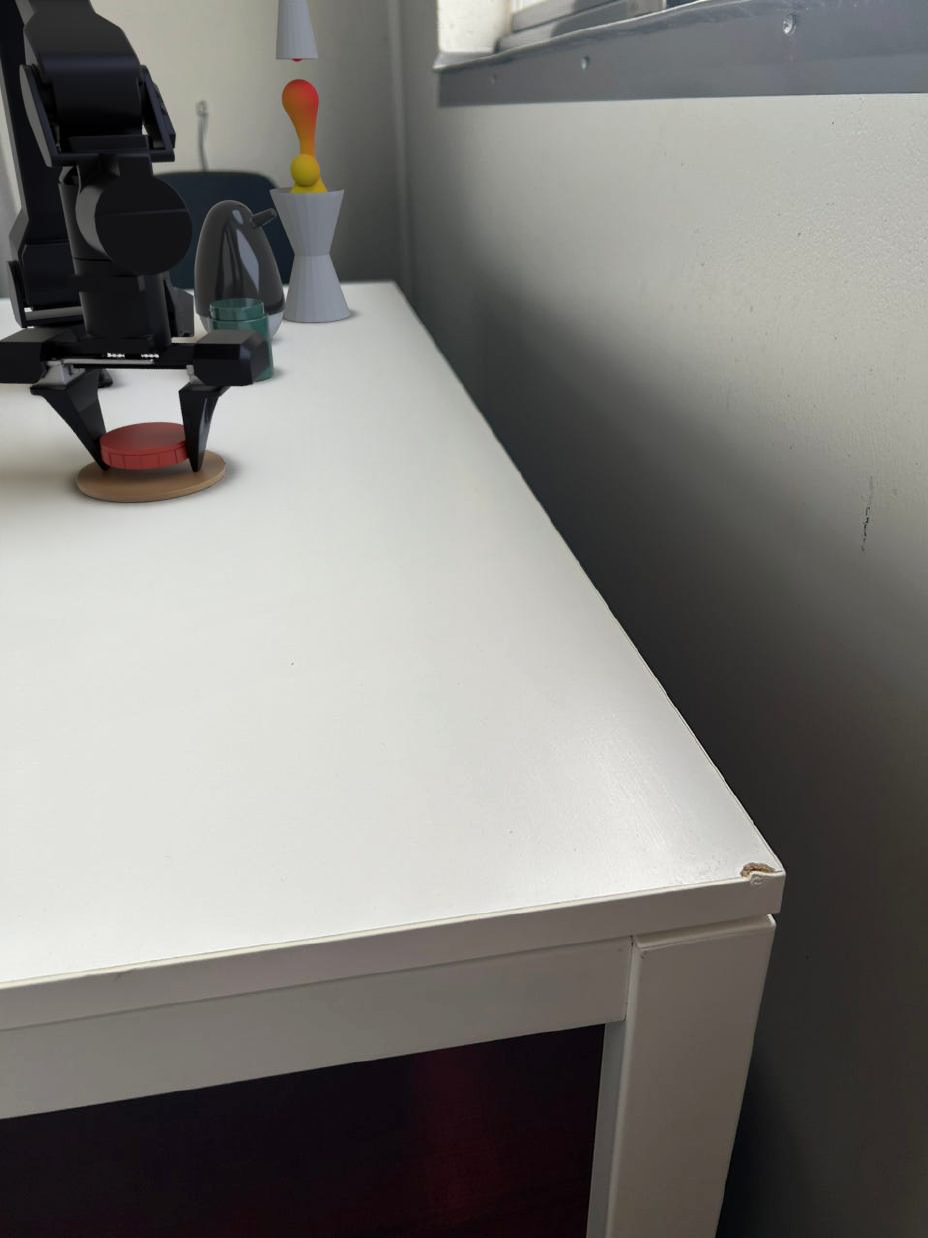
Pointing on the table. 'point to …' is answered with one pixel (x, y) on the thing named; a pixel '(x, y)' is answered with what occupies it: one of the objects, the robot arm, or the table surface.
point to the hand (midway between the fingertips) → (152, 469)
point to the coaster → (150, 480)
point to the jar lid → (144, 445)
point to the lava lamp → (307, 186)
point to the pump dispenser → (237, 262)
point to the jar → (242, 321)
